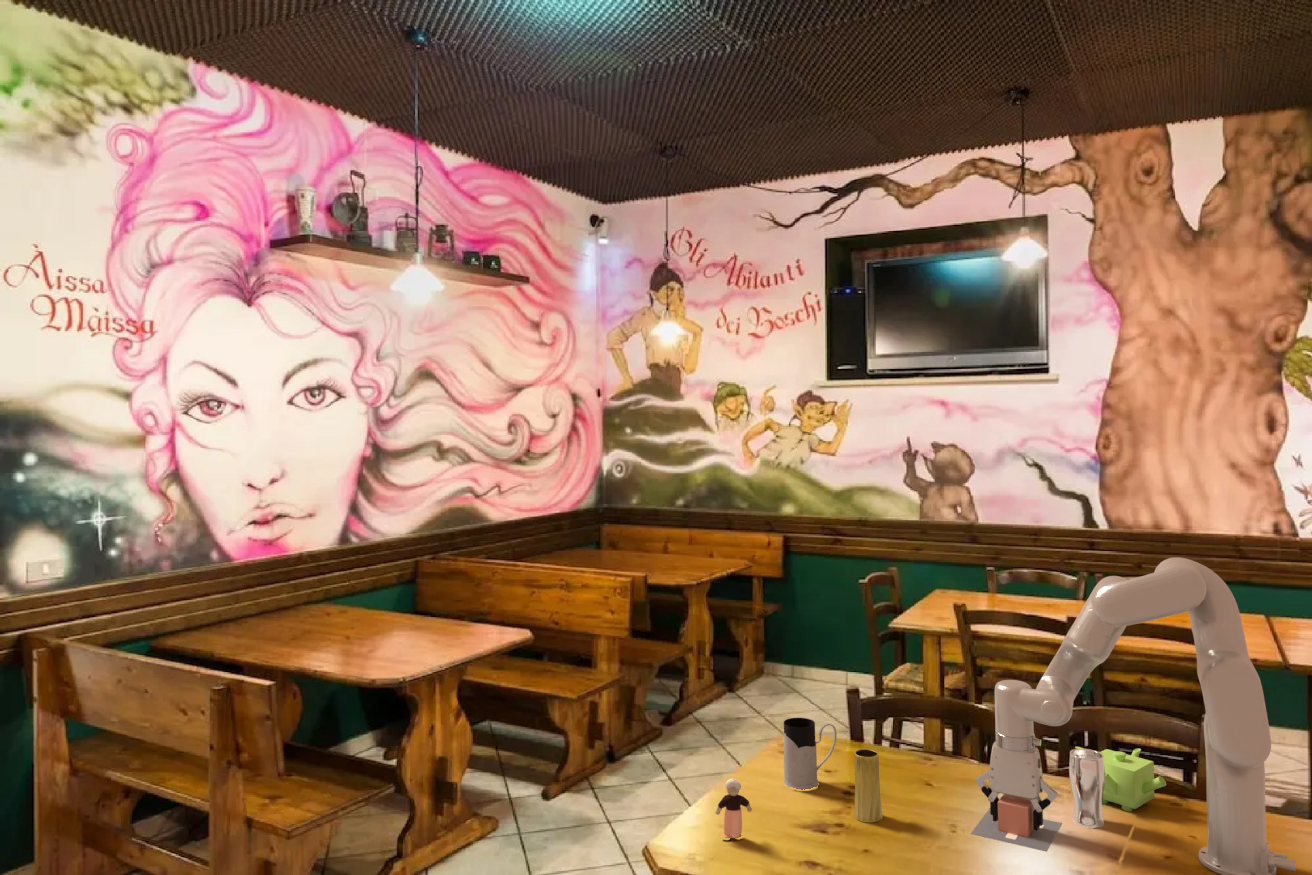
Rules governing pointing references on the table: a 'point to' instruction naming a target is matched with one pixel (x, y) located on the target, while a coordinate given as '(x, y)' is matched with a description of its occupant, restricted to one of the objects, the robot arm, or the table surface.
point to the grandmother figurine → (733, 809)
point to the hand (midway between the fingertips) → (1016, 822)
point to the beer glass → (1087, 786)
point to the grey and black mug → (802, 753)
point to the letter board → (1035, 840)
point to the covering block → (1015, 815)
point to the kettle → (1129, 779)
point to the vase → (867, 786)
